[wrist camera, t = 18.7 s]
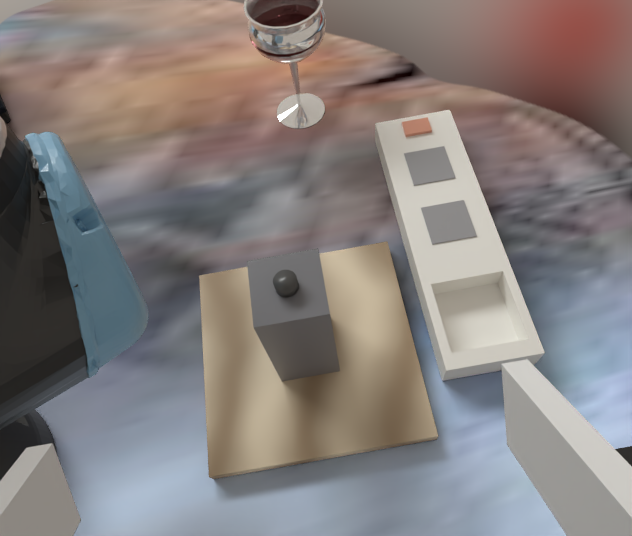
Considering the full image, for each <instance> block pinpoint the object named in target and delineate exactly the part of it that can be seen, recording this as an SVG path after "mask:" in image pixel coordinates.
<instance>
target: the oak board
mask: <svg viewBox="0 0 632 536" xmlns="http://www.w3.org/2000/svg"><path fill="white" fill-rule="evenodd" d="M319 255H320V261H321V266H322V272H323V277H324V283H325V288H326V294H327V299H328V305H329V311H330V316H331V322H332V327H333V333H334V339H335V344H336V350H337V356H338V361H339V367H340V371H338V372H333V373H327V374H321V375H316V376H310V377H304V378H299V379H293V380H288V381H281V379H280V377H279V375H278V373H277V371H276V370H275V368H274V366H273V364H272V362H271V360H270V358H269V356H268V354H267V352H266V351H265V349H264V347H263V345H262V343H261V341H260V339H259V337H258V335H257V333H256V332H255V330H254V328H253V318H252V308H251V298H250V288H249V278H248V267H244V268H239V269H233V270H228V271H222V272H217V273H211V274H206V275H200V276H199V277H200V298H201V319H202V340H203V361H204V382H205V403H206V424H207V445H208V466H209V477H210V478H212V479H217V478H223V477H228V476H234V475H240V474H245V473H251V472H257V471H262V470H268V469H273V468H279V467H285V466H290V465H296V464H301V463H307V462H313V461H318V460H324V459H330V458H335V457H341V456H346V455H352V454H358V453H363V452H369V451H375V450H380V449H386V448H391V447H397V446H403V445H408V444H414V443H420V442H425V441H431V440H436V439H437V438H438V433H437V429H436V426H435V422H434V418H433V414H432V410H431V406H430V403H429V399H428V395H427V391H426V387H425V384H424V380H423V376H422V372H421V368H420V364H419V361H418V357H417V353H416V349H415V345H414V342H413V338H412V334H411V330H410V326H409V322H408V319H407V315H406V311H405V307H404V303H403V300H402V296H401V292H400V288H399V284H398V281H397V277H396V273H395V269H394V265H393V261H392V258H391V254H390V250H389V246H388V242H382V243H376V244H371V245H365V246H360V247H354V248H349V249H343V250H338V251H332V252H327V253H321V254H319Z"/></svg>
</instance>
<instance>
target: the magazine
mask: <svg viewBox="0 0 632 536" xmlns="http://www.w3.org/2000/svg"><path fill="white" fill-rule="evenodd" d="M0 116H1V118H2V119H3V120H4V122H5V123H8V122H9V121H10V117H9V114H8V112H7V110H6V107H5V105H4V103H3V100H2V98H1V95H0Z"/></svg>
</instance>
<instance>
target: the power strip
mask: <svg viewBox="0 0 632 536" xmlns="http://www.w3.org/2000/svg"><path fill="white" fill-rule="evenodd" d="M375 143H376V147H377V150H378V154H379V157H380V161H381V165H382V168H383V172H384V175H385V179H386V183H387V186H388V190H389V193H390V197H391V200H392V204H393V208H394V211H395V215H396V218H397V222H398V225H399V229H400V233H401V236H402V240H403V243H404V247H405V250H406V254H407V258H408V261H409V265H410V268H411V272H412V275H413V279H414V283H415V286H416V290H417V293H418V297H419V300H420V304H421V308H422V311H423V315H424V318H425V322H426V325H427V329H428V333H429V336H430V340H431V343H432V347H433V350H434V354H435V358H436V361H437V365H438V368H439V372H440V375H441V379H442V381H445V380H451V379H456V378H462V377H467V376H473V375H479V374H484V373H490V372H495V371H501V370H502V368H501V364H503V363H509V362H515V361H520V360H526V359H528V360H529V361H530V362H531V363H532V364H533V365H534V364H536V363H537V362H538V360H539V359H540V358H541V357H542V356H543V355H544V353H545V352H544V350H543V347H542V344H541V342H540V339H539V337H538V334H537V332H536V329H535V327H534V324H533V321H532V319H531V316H530V314H529V311H528V309H527V306H526V304H525V301H524V298H523V296H522V293H521V291H520V288H519V286H518V283H517V281H516V278H515V275H514V273H513V270H512V268H511V265H510V263H509V260H508V257H507V255H506V252H505V250H504V247H503V245H502V242H501V240H500V237H499V234H498V232H497V229H496V227H495V224H494V222H493V219H492V217H491V214H490V211H489V209H488V206H487V204H486V201H485V199H484V196H483V194H482V191H481V188H480V186H479V183H478V181H477V178H476V176H475V173H474V171H473V168H472V165H471V163H470V160H469V158H468V155H467V153H466V150H465V148H464V145H463V142H462V140H461V137H460V135H459V132H458V130H457V127H456V124H455V122H454V119H453V117H452V114H451V112H450V110H446V111H440V112H435V113H429V114H424V115H418V116H413V117H408V118H402V119H397V120H391V121H386V122H380V123H375Z"/></svg>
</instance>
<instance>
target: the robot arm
mask: <svg viewBox="0 0 632 536" xmlns="http://www.w3.org/2000/svg"><path fill="white" fill-rule="evenodd" d="M148 318H149V317H148V307H147V305H146V302H145V300H144V298H143V295H142V293H141V291H140V289H139V287H138V285H137V283H136V281H135V279H134V277H133V275H132V273H131V271H130V269H129V267H128V265H127V263H126V261H125V259H124V258H123V256H122V254H121V252H120V250H119V248H118V246H117V244H116V242H115V240H114V238H113V236H112V234H111V232H110V230H109V228H108V226H107V225H106V223H105V221H104V219H103V217H102V215H101V213H100V211H99V209H98V207H97V205H96V203H95V201H94V199H93V198H92V196H91V194H90V192H89V190H88V188H87V186H86V184H85V182H84V180H83V179H82V177H81V175H80V173H79V171H78V169H77V167H76V165H75V163H74V162H73V160H72V158H71V156H70V155H69V153H68V151H67V150H66V148H65V146H64V144H63V142H62V140H61V138H60V137H59V136H58V135H57V134H55V133H53V132H44V133H41V134H36V133H31V134H28V135H26V136H25V139H24V140H23V141H20V140H19V139H18V138H17V137H16V135H15V134H14V133H13V132H12V130H11V129H10V128H9V127H8V125H7V124H6V123H5V122H4V120H3V119H2V118H1V116H0V536H73V535H74V533H75V531H76V529H77V527H78V525H79V523H80V521H81V518H80V516H79V513H78V510H77V508H76V505H75V502H74V500H73V497H72V494H71V491H70V489H69V486H68V483H67V481H66V478H65V475H64V473H63V470H62V467H61V464H60V462H59V459H58V456H57V454H56V450H55V445H54V441H53V438H52V435H51V432H50V430H49V428H48V426H47V424H46V423H45V421H44V420H43V418H42V417H41V416H40V414H39V413H38V412H37V411H36V410H35V409H36V408H37V407H39V406H41V405H42V404H44V403H46V402H48V401H49V400H51V399H53V398H54V397H56V396H58V395H59V394H61V393H63V392H64V391H66V390H68V389H69V388H71V387H73V386H74V385H76V384H78V383H79V382H81V381H83V380H84V379H86V378H90V377H92V376H93V375H95V374H96V373H97V372H98V370H99V368H100V367H102V366H103V365H104V364H106V363H107V362H109V361H110V360H112V359H113V358H114V357H116V356H117V355H119V354H120V353H122V352H123V351H125V350H126V349H127V348H129V347H130V346H132V345H133V344H135V343H136V342H137V341H138V339H139V338H140V337H141V336H142V334H143V332H144V330H145V329H146V326H147V322H148ZM501 368H502V381H503V395H504V409H505V422H506V436H507V445H508V447H509V448H510V450H511V451H512V453H513V454H514V456H515V458H516V459H517V461H518V462H519V464H520V465H521V467H522V468H523V470H524V471H525V473H526V474H527V476H528V477H529V479H530V480H531V482H532V483H533V485H534V486H535V488H536V489H537V491H538V492H539V494H540V496H541V497H542V499H543V500H544V502H545V503H546V505H547V506H548V508H549V509H550V511H551V512H552V514H553V515H554V517H555V518H556V520H557V521H558V523H559V524H560V526H561V527H562V529H563V530H564V532H565V533H566V535H567V536H632V446H630V447H625V448H619V449H614V448H613V447H612V446H611V445H610V444H609V443H608V442H607V441H606V440H605V439H604V438H603V437H602V435H601V434H600V433H599V432H598V431H597V430H596V429H595V428H594V427H593V426H592V425H591V424H590V423H589V422H588V421H587V420H586V419H585V418H584V417H583V416H582V415H581V414H580V413H579V412H578V411H577V410H576V409H575V408H574V407H573V406H572V405H571V404H570V403H569V402H568V400H567V399H566V398H565V397H564V396H563V395H562V394H561V393H560V392H559V391H558V390H557V389H556V388H555V387H554V386H553V385H552V384H551V383H550V382H549V381H548V380H547V379H546V378H545V377H544V376H543V375H542V374H541V373H540V372H539V371H538V370H537V369H536V368H535V367H534V365H533V364H532V363H531V362H530V361H529V360H528V359H526V360H520V361H515V362H509V363H503V364H501Z"/></svg>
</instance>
